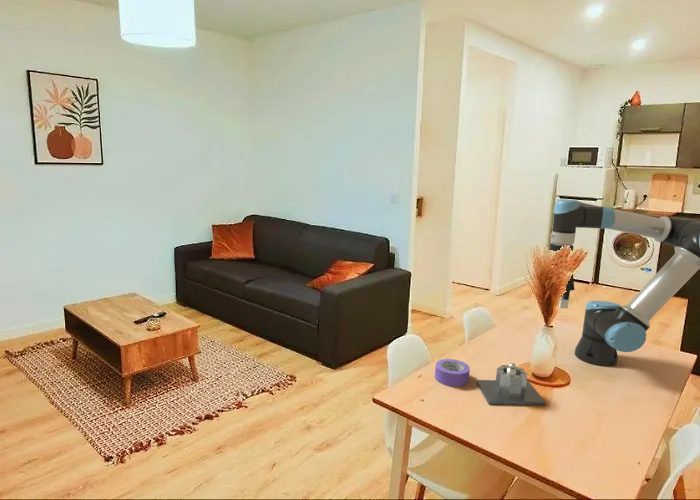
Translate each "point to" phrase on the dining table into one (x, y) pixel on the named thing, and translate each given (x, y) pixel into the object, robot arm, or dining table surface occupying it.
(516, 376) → the ring
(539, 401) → the shaft stand
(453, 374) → the tape roll
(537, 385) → the dining table surface
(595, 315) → the robot arm
